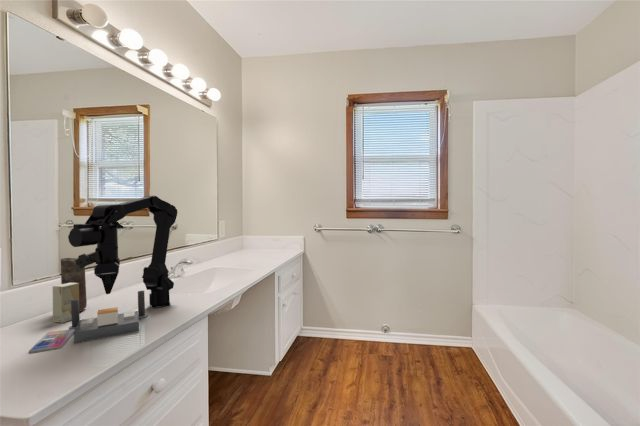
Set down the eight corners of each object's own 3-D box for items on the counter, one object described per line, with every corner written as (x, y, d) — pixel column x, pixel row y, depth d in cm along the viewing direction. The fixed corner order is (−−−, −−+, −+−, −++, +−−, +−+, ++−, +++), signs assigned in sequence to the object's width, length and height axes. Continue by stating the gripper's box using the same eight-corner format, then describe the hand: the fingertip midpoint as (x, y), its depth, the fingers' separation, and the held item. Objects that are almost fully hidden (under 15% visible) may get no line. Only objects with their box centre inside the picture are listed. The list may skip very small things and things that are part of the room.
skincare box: (62, 323, 107) (61, 286, 107) (52, 322, 108) (51, 286, 108) (80, 316, 113) (79, 282, 113) (70, 316, 114) (69, 281, 114)
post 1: (83, 325, 105) (82, 297, 105) (82, 328, 102) (81, 300, 101) (69, 327, 103) (68, 299, 103) (68, 331, 100) (66, 302, 100)
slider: (118, 319, 99) (117, 307, 99) (117, 322, 97) (117, 309, 97) (98, 323, 97) (98, 310, 97) (97, 326, 94) (97, 312, 94)
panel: (138, 319, 109) (137, 308, 109) (139, 331, 99) (138, 318, 99) (79, 329, 101) (79, 317, 101) (74, 343, 90) (73, 330, 90)
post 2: (147, 314, 114) (146, 289, 114) (147, 317, 111) (147, 291, 111) (135, 316, 112) (134, 291, 112) (135, 319, 109) (135, 293, 109)
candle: (65, 309, 122) (64, 257, 121) (89, 307, 125) (87, 255, 124) (58, 315, 115) (57, 260, 114) (83, 312, 118) (81, 258, 117)
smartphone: (77, 328, 101) (61, 346, 87) (77, 331, 101) (61, 350, 87) (47, 331, 98) (26, 351, 84) (47, 335, 98) (26, 355, 84)
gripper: (80, 242, 109) (81, 288, 109) (72, 248, 93) (74, 301, 93) (119, 240, 114) (120, 284, 115) (117, 245, 98) (119, 295, 99)
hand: (108, 290), depth 105 cm, fingers open, 9 cm apart
